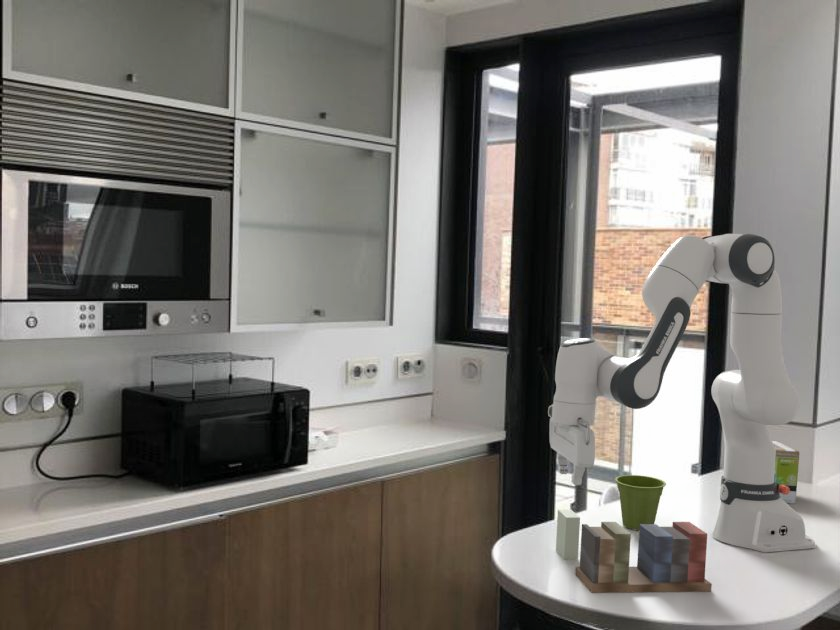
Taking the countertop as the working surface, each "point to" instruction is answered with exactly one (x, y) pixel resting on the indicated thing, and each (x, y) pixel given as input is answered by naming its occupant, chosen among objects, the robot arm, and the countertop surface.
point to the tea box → (786, 470)
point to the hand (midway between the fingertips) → (569, 478)
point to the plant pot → (639, 499)
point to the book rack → (643, 559)
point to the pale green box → (567, 534)
